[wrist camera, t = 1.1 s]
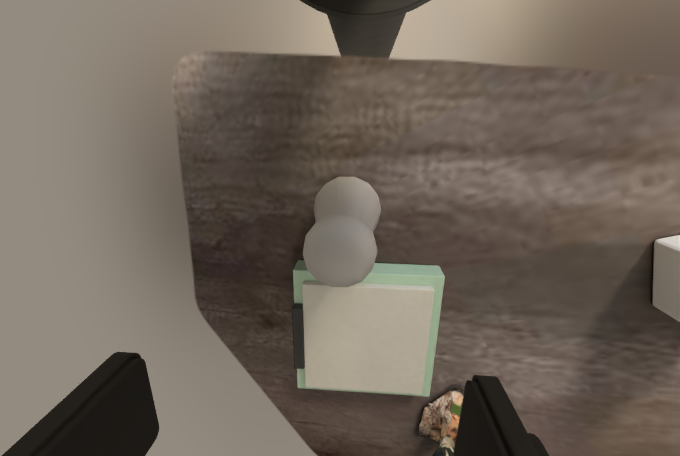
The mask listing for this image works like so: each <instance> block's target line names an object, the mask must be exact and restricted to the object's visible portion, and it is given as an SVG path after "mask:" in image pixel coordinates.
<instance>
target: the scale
mask: <svg viewBox="0 0 680 456" xmlns="http://www.w3.org/2000/svg"><path fill="white" fill-rule="evenodd" d="M444 279H445V276H444V274H443V273H442V271H441V269H440V267H439V266H435V265H410V264H385V263H374V266H373V269H372V271H371V272H370V273H369V274H368V275H367V276H366V278H365V279H364V280H363V281H362V282H360V283H357V284H355V285H352V286H350V287H330V286H328V285H326V284H324V283H322V282H319V281H318V280H317V279H316V278H315V277H314V276H313V275H312V274H311V273H310V272H309V271H308V270H307V267H306V264H305V260H298V261H297V263H296V265H295V267H294V269H293V285H294V305H293V308H292V320H293V344H294V368H295V369H297V386H298V388H306V389H321V390H336V391H351V392H366V393H382V394H397V395H412V396H427V397H429V396H430V388H431V380H432V372H433V365H434V357H435V349H436V341H437V333H438V326H439V318H440V310H441V302H442V295H443V287H444Z"/></svg>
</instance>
